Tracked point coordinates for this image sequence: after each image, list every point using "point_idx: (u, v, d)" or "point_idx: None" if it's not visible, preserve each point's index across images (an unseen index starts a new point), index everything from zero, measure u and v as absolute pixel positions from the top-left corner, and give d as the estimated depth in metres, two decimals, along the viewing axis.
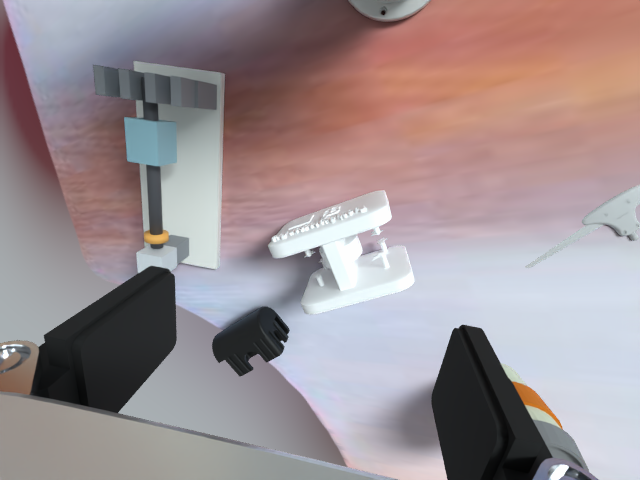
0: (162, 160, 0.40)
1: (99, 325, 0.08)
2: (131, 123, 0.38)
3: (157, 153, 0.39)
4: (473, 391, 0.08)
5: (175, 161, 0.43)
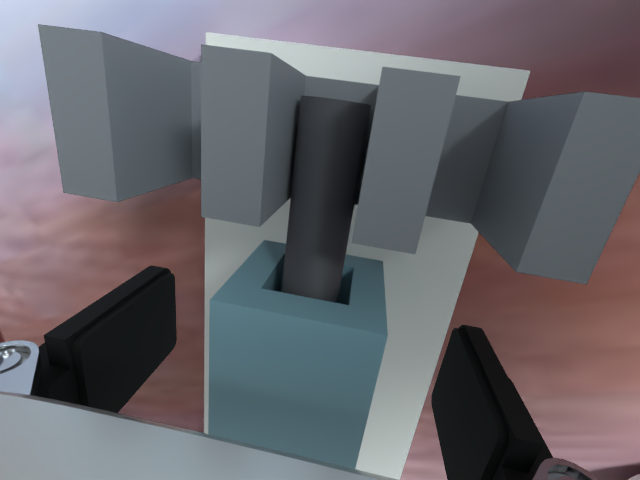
0: None
1: (99, 325, 0.08)
2: (245, 328, 0.08)
3: (356, 448, 0.08)
4: (473, 391, 0.08)
5: None
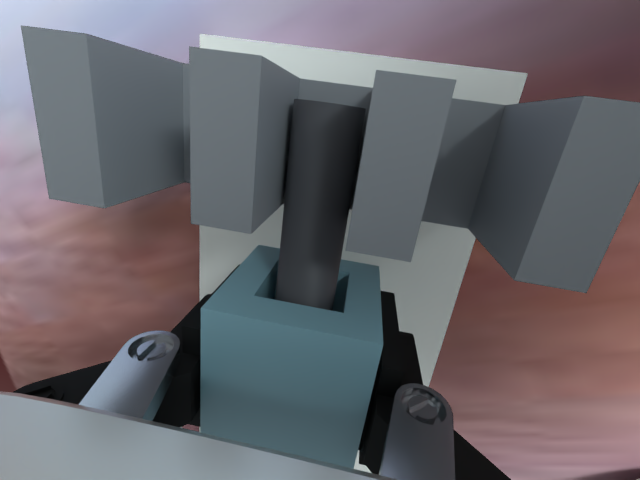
0: None
1: None
2: (237, 337, 0.07)
3: (351, 459, 0.08)
4: None
5: None
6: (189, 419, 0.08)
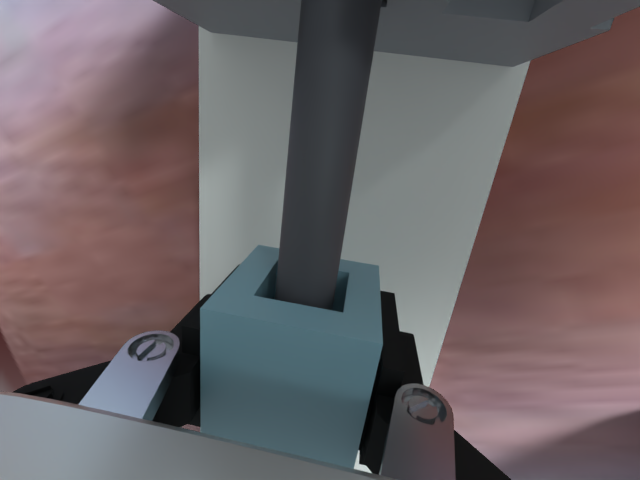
0: None
1: None
2: (237, 337, 0.07)
3: (351, 458, 0.08)
4: None
5: None
6: (189, 419, 0.08)
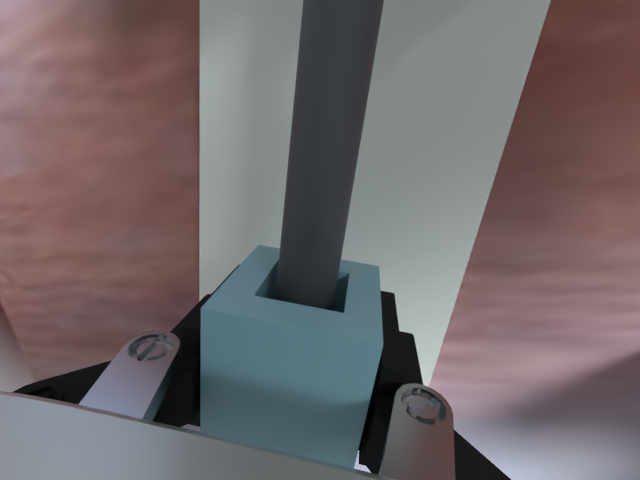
0: None
1: None
2: (237, 337, 0.07)
3: (351, 459, 0.08)
4: None
5: None
6: (189, 419, 0.08)
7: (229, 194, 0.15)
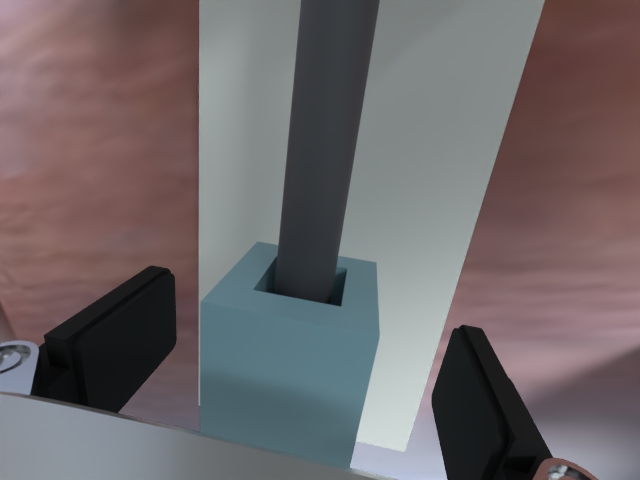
0: None
1: (99, 325, 0.08)
2: (237, 330, 0.07)
3: (349, 451, 0.08)
4: (473, 391, 0.08)
5: None
6: None
7: (228, 194, 0.15)
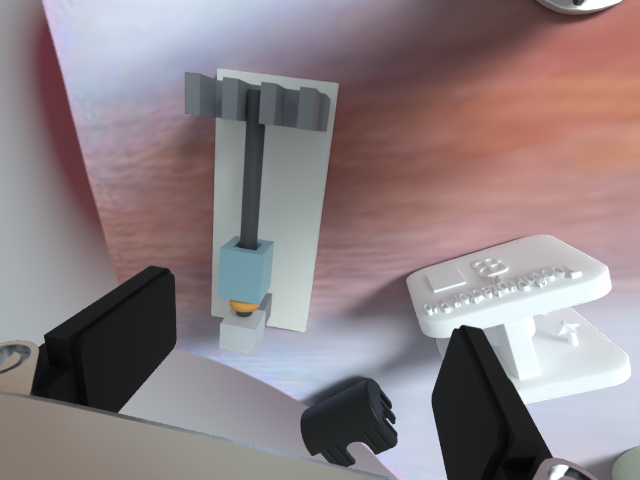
0: (262, 294, 0.32)
1: (99, 325, 0.08)
2: (228, 255, 0.30)
3: (259, 290, 0.31)
4: (473, 391, 0.08)
5: (269, 286, 0.35)
6: None
7: (225, 218, 0.37)
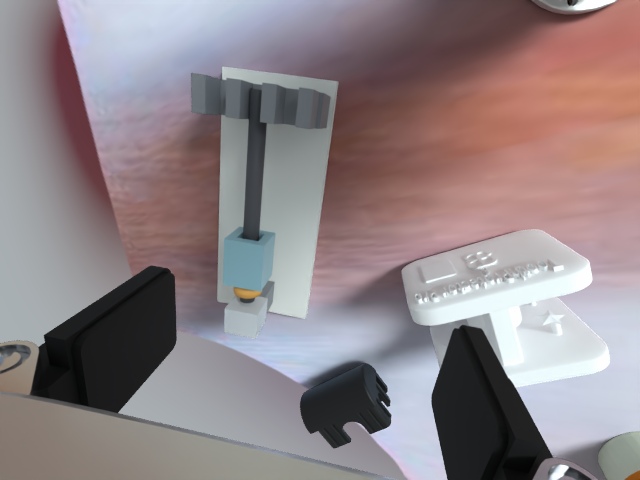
0: (263, 282, 0.34)
1: (99, 325, 0.08)
2: (232, 245, 0.32)
3: (260, 278, 0.33)
4: (473, 391, 0.08)
5: (271, 274, 0.37)
6: None
7: (230, 210, 0.39)
